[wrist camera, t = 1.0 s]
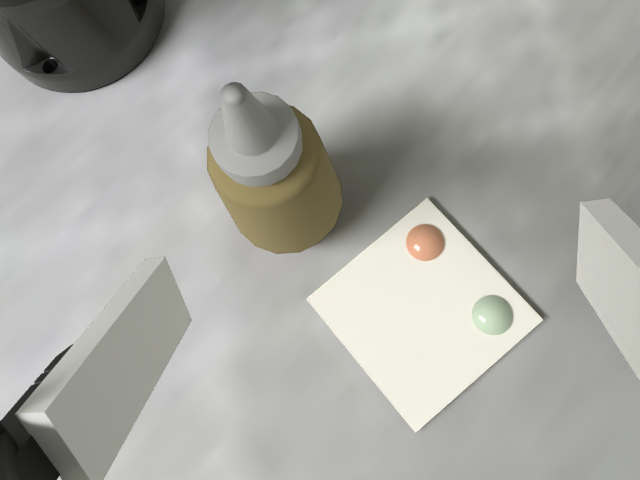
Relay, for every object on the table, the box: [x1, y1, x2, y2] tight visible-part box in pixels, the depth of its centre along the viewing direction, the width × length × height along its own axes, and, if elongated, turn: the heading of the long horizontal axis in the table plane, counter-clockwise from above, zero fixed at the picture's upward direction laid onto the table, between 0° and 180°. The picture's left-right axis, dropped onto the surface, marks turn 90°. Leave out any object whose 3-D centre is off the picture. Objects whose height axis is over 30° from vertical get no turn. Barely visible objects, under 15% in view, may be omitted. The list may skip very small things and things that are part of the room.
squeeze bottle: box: [207, 82, 342, 254], centre depth 28 cm, size 8×8×18 cm
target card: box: [307, 198, 543, 433], centre depth 34 cm, size 12×12×1 cm
